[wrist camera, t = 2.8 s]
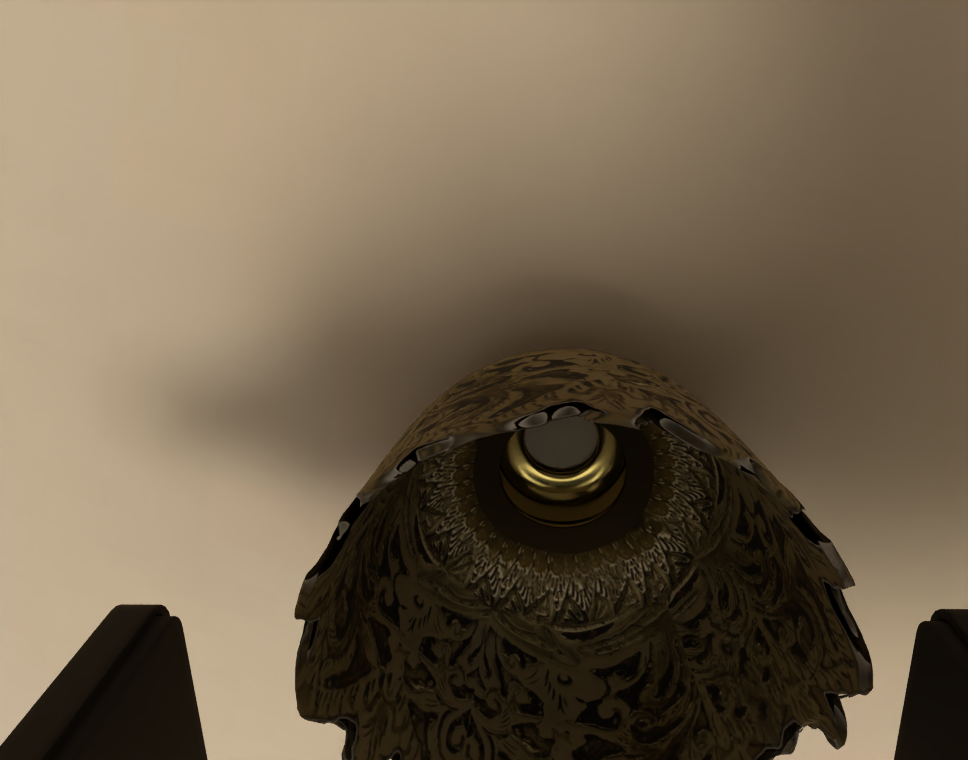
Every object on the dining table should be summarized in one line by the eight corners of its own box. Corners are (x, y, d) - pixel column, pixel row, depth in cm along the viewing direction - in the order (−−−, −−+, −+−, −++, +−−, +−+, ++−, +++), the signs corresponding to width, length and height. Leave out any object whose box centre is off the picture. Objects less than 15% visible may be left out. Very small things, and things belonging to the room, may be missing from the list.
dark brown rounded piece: (601, 631, 19) (636, 969, 12) (339, 479, 19) (199, 740, 11) (802, 393, 17) (1004, 629, 10) (512, 204, 16) (483, 300, 9)
